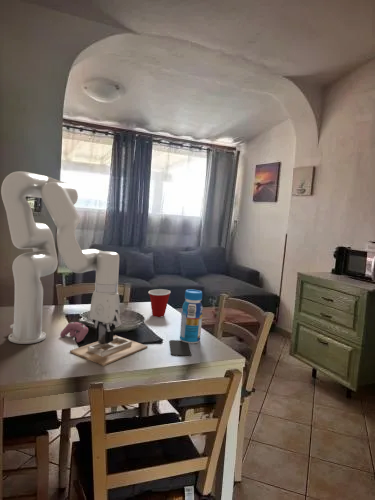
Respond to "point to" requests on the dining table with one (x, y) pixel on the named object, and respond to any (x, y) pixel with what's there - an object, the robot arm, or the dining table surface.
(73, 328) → the video game controller
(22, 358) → the dining table surface
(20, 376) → the dining table surface
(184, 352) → the phone
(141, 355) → the dining table surface
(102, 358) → the tray
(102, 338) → the cylinder
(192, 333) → the beverage bottle
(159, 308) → the plastic cup
